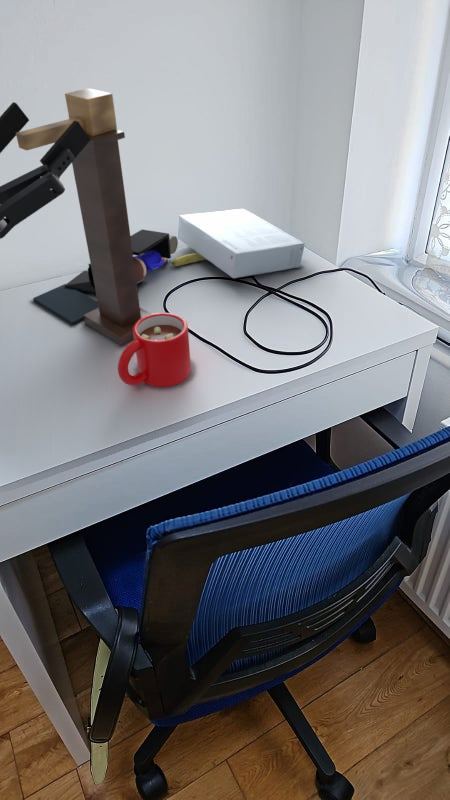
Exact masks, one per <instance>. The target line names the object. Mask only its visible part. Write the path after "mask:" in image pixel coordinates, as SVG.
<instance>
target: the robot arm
mask: <svg viewBox="0 0 450 800" xmlns="http://www.w3.org/2000/svg"><path fill="white" fill-rule="evenodd" d="M29 121H30V118H28V116H27V115H26V113H25V112H24V111H23V110H22V109H21V107H20V106H19V105H18V103H17V102H13V101H12V102H11V104H10V105H9V106H8V107H7V108H6V109H5V110H4V111H3V113H2V114H1V115H0V154H1V153H2V152H3V151H4V150H5V149H6V148H7V146H8V145H10V143H11V142H12V141H13V140H14V139H15V137H17V136H16V133H17V132H21V131H22V130H23V128H24V127H25V126H26V125H27V123H29ZM90 140H91V139H90V138H89V137H88V135H87V134H86V132H85V131H84V129H83V128H82V126H81V125H80V124H79V122H78V121H75V120H74V121H73V123H72V124H71V125H70V126H69V127H68V128H67V130H66V131H65V132H64V133H63V134H62V135H61V136H60V138H59V139H58V140H57V141H56V142H55V143H53V144H52V146H51V147H50V148H49V149H48V150H47V151H46V153H45V154H44V155H43V156H42V158H41V159H39V162H40V164H42V165H40V166H38V167H36V168H34V169H32V170H30V171H28V172H26V173H24V174H22V175H20V176H18V177H16V178H14V179H12V180H10V181H7V182H6V183H4V184H1V185H0V240H2V239H3V238H5V237H6V236H7V235H8V234H9V233H10V232H11V231H12V230H13V229H14V227H16V226H17V225H19V224H20V223H21V222H23V221H24V220H26V219H27V218H29V217H31V216H32V215H33V214H35V213H37V212H38V211H39V210H41V209H42V208H44V207H45V206H47V205H48V204H49V203H51V202H52V201H54V200H55V199H57V198H58V197H60V196H61V195H63V194H64V193H65V191H66V188H65V186H64V184H63V182H61V180H60V178H61V176H62V175H63V174H64V173H65V171H66V170H67V169H68V168H69V167H70V165H72V162H73V161H74V159H75V158H76V157H77V155H78V154H79V153H80V152H81V151H82V149H83V148H84V147H85V146H86V145H87V144H88V142H89V141H90Z"/></svg>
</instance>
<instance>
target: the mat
mask: <svg viewBox="0 0 450 800" xmlns="http://www.w3.org/2000/svg"><path fill="white" fill-rule="evenodd" d="M66 284H67V283H64V284H62V285H59V286H57V287H55V288H53V289H51V290H50V289H49V291H46V292H43V293H42V294H39V295H36V296H34V297H33V298H32V300H33V302H35V303H37V304H38V305H39V306H41V307H42V308H45V309H46V310H48V311H50V312H51V313H53V314H54V315H55V316H57V317H59V318H60V319H62V320H63V321H66V322H67V323H69V324H70V325H72V326H74V325H76V324H77V323H80V322H81V321H84V317H83V315H85V314H87V313H89V312H91V311H93V310H95V309H97V308H99V306H98V301H97V300H96V299H94V298H92V297H90V296H88V295H86V294H85V293H84V292H82V291H80V290H76V289H71V288H67V287H65V285H66Z"/></svg>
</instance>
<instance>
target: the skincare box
mask: <svg viewBox="0 0 450 800" xmlns="http://www.w3.org/2000/svg"><path fill="white" fill-rule="evenodd" d="M177 225H178V226H177V240H180V241H181V242H182V243H184V244H185V245H186V246H187V247H189V248H190V249H192V250H193V251H195V253H199V254H200V255H202V256H203V257H204V258H206V259H207V260H206V261H209V262H210V263H211V264H212V265H214V266H215V267H216V268H217V269H220V270H221V271H223V272H224V273H225V274H226V275H228V276H230V277H231V278H232V279H239V278H245V277H249V276H255V275H256V276H257V275H261V274H267V273H274V272H279V271H285V270H291V269H296V268H301V264H302V260H303V254H304V249H305V245H306V244H305V242H303V241H301V240H300V239H298V238H296V237H295V236H293V235H291V234H290V233H288V232H286V231H284V230H282V229H280V228H279V227H277V226H275V225H273V224H272V223H270V222H269V221H266V220H265V219H263V218H261V217H259V216H258V215H256V214H254V213H252V212H251V211H249V210H247V209H245V208H237V209H228V210H219V211H211V212H209V211H208V212H198V213H189V214H180V215H178V224H177Z"/></svg>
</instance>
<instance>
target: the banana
mask: <svg viewBox="0 0 450 800" xmlns="http://www.w3.org/2000/svg"><path fill="white" fill-rule="evenodd" d="M202 261H208V260H207V259H206V258H204V257H203V256H202V255H200V254H199V253H198V252H193V253H188V254H184V255H181V256H179V257H176V258H174V259H173V260H172V262H171V265H172V266H174V267H180V266H184V265H187V264H188V265H189V264H192V263H196V262H202Z"/></svg>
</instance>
